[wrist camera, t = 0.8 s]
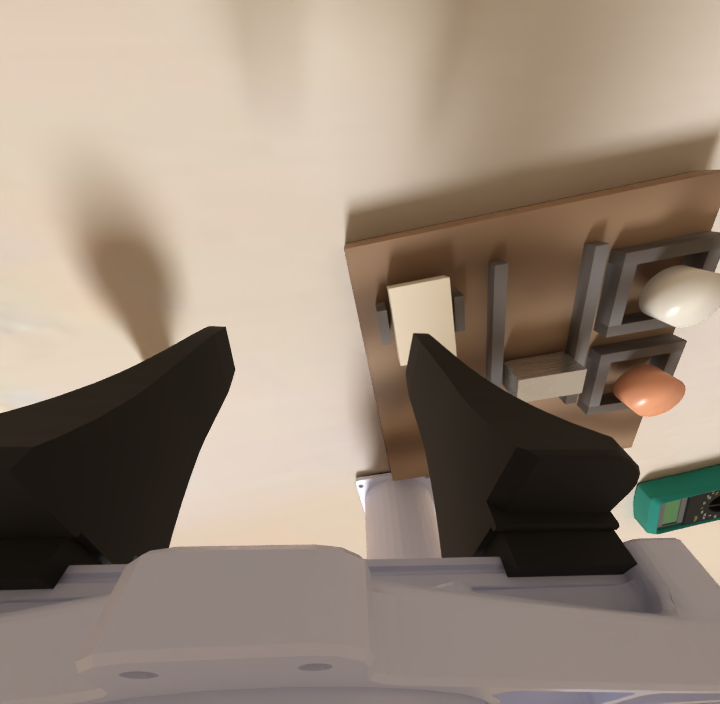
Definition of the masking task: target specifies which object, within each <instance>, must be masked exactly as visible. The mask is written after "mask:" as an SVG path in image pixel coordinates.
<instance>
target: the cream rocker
mask: <svg viewBox="0 0 720 704" xmlns="http://www.w3.org/2000/svg"><path fill="white" fill-rule="evenodd" d="M387 291H388V297H389V303H390V309H391V316H392V322H393V328H394V334H395V341H396V347H397V353H398V359H399V362H400V365H401V366H404V365H407V363H408V357H409V352H410V347H411V342H412V336H413V333H427V334H430V335H431V336H432V337H434V338H435V339H436V340H437V341H438V342H439V343H441V344H442V345H443V346H444V347H445V348H446V349H448V350H449V351H450V352H451V353H452V354H454V355H455V356H457V354H456V343H455V331H454V320H453V309H452V298H451V287H450V277H447V276H444V275H442V276H437V277H432V278H426V279H421V280H416V281H411V282H406V283H400V284H395V285H390V286H387Z"/></svg>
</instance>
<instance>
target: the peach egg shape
mask: <svg viewBox="0 0 720 704" xmlns="http://www.w3.org/2000/svg"><path fill="white" fill-rule="evenodd" d="M613 393H614V395H615V397H617V398H618V399H619V400H620V401H622V402H623V403H624V404H625V405H626V406H628V407H629V408H630V409H631V410H633V411H634V412H635V413H636V414H638V415H640V416H645V417H650V416H656V415H659V414H662V413H664V412H666V411H668V410H670V409H671V408H673V407H674V406H675V405H677V404H678V403H679V402H680V400H681V399H682V398H683V396H684V394H685V385H684V384H683V382H681V381H680V380H678V379H676V378H675V377H673V376H671V375H670V374H668V373H666V372H665V371H663V370H661V369H660V368H658V367H656V366H654V365H649V364H645V365H639V366H636V367H634V368H631V369H630V370H628V371H626V372H625V373H624V374H622V375H621V376H620V377H619V378H618V379H617V381H616V382H615V384H614V387H613Z"/></svg>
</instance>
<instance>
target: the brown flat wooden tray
mask: <svg viewBox="0 0 720 704" xmlns="http://www.w3.org/2000/svg"><path fill="white" fill-rule="evenodd" d="M719 208H720V170H705V171H694V172H689V173H684V174H679V175H674V176H670V177H665V178H660V179H655V180H650V181H645V182H641V183H636V184H631V185H626V186H621V187H616V188H612V189H607V190H602V191H597V192H592V193H587V194H583V195H578V196H573V197H568V198H563V199H558V200H554V201H549V202H544V203H539V204H534V205H529V206H525V207H520V208H515V209H510V210H505V211H500V212H496V213H491V214H486V215H481V216H476V217H471V218H467V219H462V220H457V221H452V222H447V223H442V224H438V225H433V226H428V227H423V228H418V229H413V230H409V231H404V232H399V233H394V234H389V235H384V236H380V237H375V238H370V239H365V240H360V241H355V242H350V243H346V244H345V247H344V251H345V256H346V260H347V265H348V270H349V275H350V279H351V284H352V289H353V294H354V298H355V303H356V308H357V313H358V317H359V322H360V327H361V332H362V336H363V341H364V346H365V351H366V355H367V360H368V365H369V370H370V374H371V379H372V384H373V389H374V393H375V398H376V403H377V408H378V412H379V417H380V422H381V427H382V431H383V436H384V441H385V446H386V450H387V455H388V460H389V465H390V469H391V474H392V479H393V481H397V480H404V479H411V478H418V477H425V476H430V475H429V470H428V464H427V459H426V453H425V449H424V445H423V441H422V438H421V435H420V431H419V428H418V425H417V422H416V418H415V415H414V412H413V408H412V405H411V402H410V398H409V394H408V388H407V382H406V375H405V373H406V368H407V365H404V366H401V365H400V362H399V359H398V353H397V347H396V341H395V334H394V328H393V322H392V316H391V309H390V303H389V297H388V291H387V286H390V285H395V284H400V283H406V282H411V281H416V280H421V279H426V278H432V277H437V276H442V275H444V276H447V277H450V287H451V298H452V309H453V320H454V331H455V343H456V354H457V356H456V357H457V358H458V359H460V360H461V361H462V362H463V363H465V364H466V365H467V366H469V367H470V368H471V369H473V370H474V371H475V372H477V373H478V374H479V375H481V376H482V377H484V378H485V379H487V380H488V381H490V382H491V383H493V384H495V385H496V386H498V387H500V388H501V389H503V390H504V391H506V392H508V391H507V390H506V389H505V387H504V386H503V385H502V372H503V362H504V361H510V360H516V359H522V358H528V357H534V356H540V355H546V354H552V353H557V352H563V351H565V352H566V353H567V354H568V355H570V356H571V357H572V358H573V359H575V360H576V361H577V362H579V363H580V364H581V365H582V366H584V367H585V368H586V369H587V372H586V376H585V381H584V385H583V390H582V393H579V394H573V395H567V396H560V397H554V398H548V399H541V400H535V401H528V402H527V403H529V404H531V405H533V406H535V407H537V408H539V409H541V410H543V411H545V412H548V413H550V414H552V415H555V416H557V417H559V418H562V419H564V420H567V421H569V422H571V423H574V424H577V425H580V426H582V427H585V428H588V429H591V430H594V431H596V432H599V433H602V434H605V435H607V436H610V437H612V438H613V439H614V440H615V441H616V442H617V443H618V444H619V445H620V446H621V447H622V448H629V447H632V444H633V441H634V439H635V436H636V433H637V430H638V428H639V425H640V422H641V420H642V417H643V416H640V415H638V414H636V413H635V412H634V411H633V410H631V409H630V408H629V407H628V406H626V405H625V404H624V403H623V402H622V401H620V400H619V399H618V398H617V397H615V395H614V393H613V387H614V384H615V382H616V381H617V379H618V378H619V377H620V376H621V375H622V374H624V373H625V372H626V371H628V370H630V369H631V368H634V367H636V366H639V365H645V364H649V365H654V366H656V367H658V368H660V369H661V370H663V371H665V372H666V373H668V374H670V375H671V376H673V374H674V372H675V369H676V367H677V364H678V362H679V359H680V357H681V354H682V352H683V349H684V347H685V344H686V342H687V341H686V340H684V339H682V338H680V337H677V336H675V335H673V333H674V330H675V327H674V326H672V325H669V324H667V323H665V322H662V321H660V320H658V319H656V318H653V317H651V316H649V315H646V314H644V313H643V312H642V311H641V310H640V308H639V296H640V293H641V291H642V289H643V288H644V286H645V285H646V284H647V282H648V281H649V280H650V279H651V278H652V277H654V276H655V275H656V274H658V273H659V272H661V271H662V270H664V269H666V268H669V267H672V266H677V265H685V266H689V267H693V268H698V269H702V270H706V271H710V272H715V269H716V267H717V264H718V262H719V259H720V233H719V232H712V231H711V229H712V227H713V224H714V221H715V218H716V216H717V213H718V210H719Z"/></svg>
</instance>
